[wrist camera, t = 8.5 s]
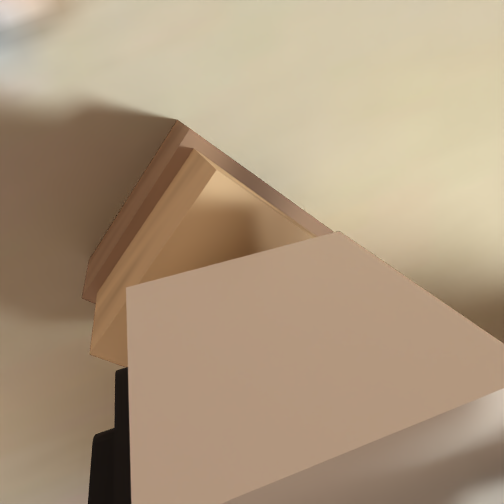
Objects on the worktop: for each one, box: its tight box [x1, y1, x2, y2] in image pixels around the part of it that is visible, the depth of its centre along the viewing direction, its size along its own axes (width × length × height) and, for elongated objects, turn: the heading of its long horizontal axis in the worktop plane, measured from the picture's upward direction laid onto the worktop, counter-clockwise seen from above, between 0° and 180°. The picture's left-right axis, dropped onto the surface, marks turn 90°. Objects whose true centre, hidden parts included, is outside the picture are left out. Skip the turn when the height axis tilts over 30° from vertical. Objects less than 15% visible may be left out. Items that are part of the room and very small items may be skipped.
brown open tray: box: [90, 149, 317, 367], centre depth 15 cm, size 7×7×4 cm
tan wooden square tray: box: [82, 120, 333, 304], centre depth 18 cm, size 8×8×4 cm
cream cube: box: [126, 231, 504, 504], centre depth 9 cm, size 6×6×6 cm
